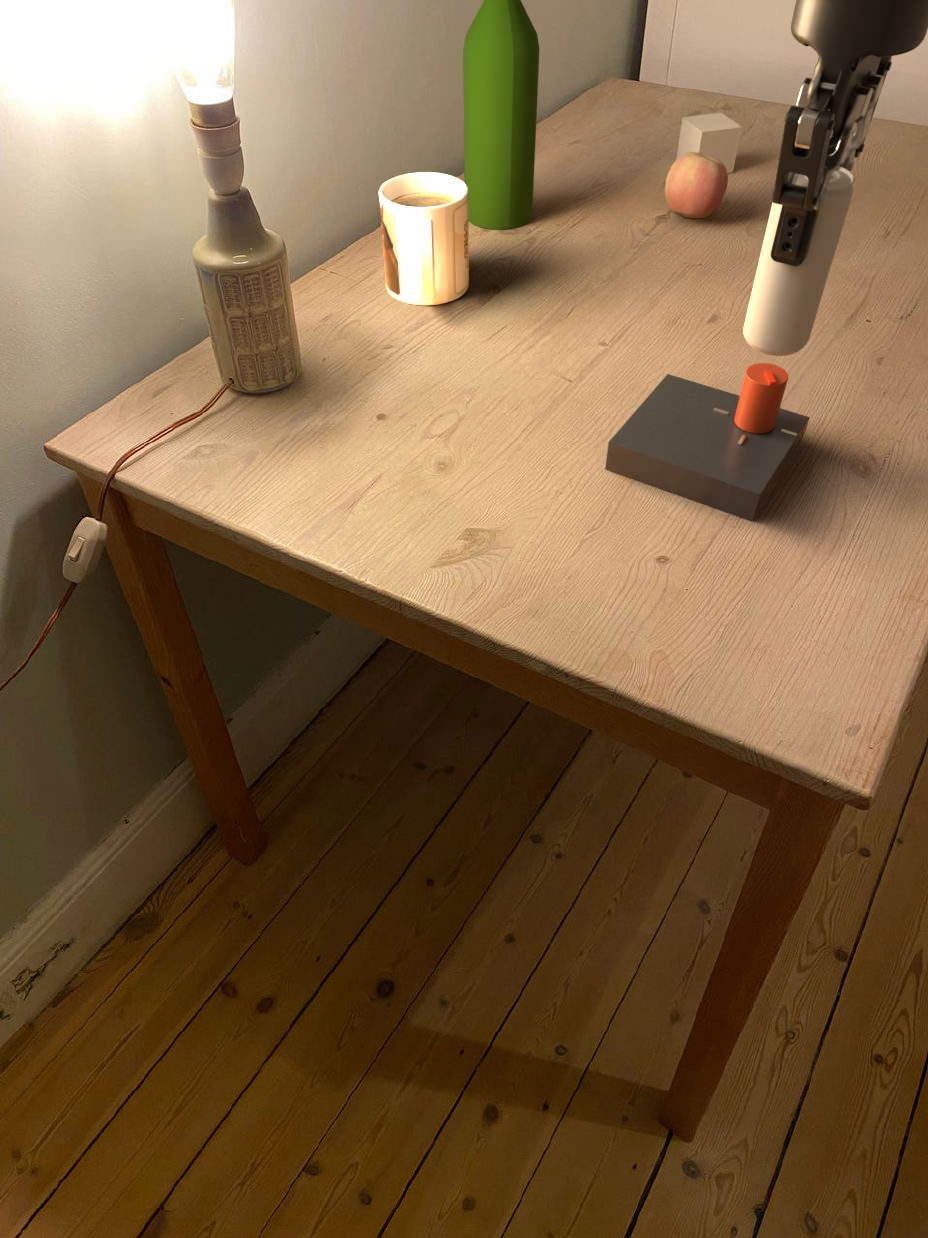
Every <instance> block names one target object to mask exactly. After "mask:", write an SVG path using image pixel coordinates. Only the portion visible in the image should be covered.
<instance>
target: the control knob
mask: <svg viewBox="0 0 928 1238" xmlns="http://www.w3.org/2000/svg"><path fill="white" fill-rule="evenodd" d="M788 380H789V373H788V372H787V370H785V369H784V368H783V367H781V366H780V365H779V366H778V365H776V364H774V363H767V362H758V363H754V364H751V365H749V366H748V367H747V368H746V370H745V374H744V377H743V382H742V385H741V390H740V394H739V396H740V397H739V402H738V406H737V410H736V414H735V418H734V421H735V424H736V425H737V426H738V427H739V428H740V429H742V430H744V431H746V432H749V433H755V434H762V433H767V432H769V431H771V430H772V429H773V428H774V426H775V423H776V420H777V416H778V413H779V409H780V408H781V406H782V402H783V398H784V395H785V392H786V387H787V384H788Z"/></svg>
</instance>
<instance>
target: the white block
mask: <svg viewBox="0 0 928 1238" xmlns="http://www.w3.org/2000/svg"><path fill="white" fill-rule="evenodd" d="M742 128H743V127H742V126H741V125H740V124H738V123H737V122H735V121H734V120H733V119H731V118H729V116H727V115H725V114H724V113H722V112H714V113H707V114H698V115H697V114H696V115H690V116H689V115H688V116H682V120H681V125H680V133H679V139H678V146H677V153H676V159H675V161H676V160H677V159H678V158H679V157H680V156H682V155H684V154H686V153H689V152H697V153H704V154H708V155H710V156H712V157H714V158H716V159H718V160H719V161H721V162H722V163H723V164H724V166H725V167H726V170H727V174H730V173H734V169H735V164H736V163H735V162H736V159H737V153H738V148H739V143H740V138H741V134H742Z"/></svg>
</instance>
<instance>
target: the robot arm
mask: <svg viewBox="0 0 928 1238" xmlns="http://www.w3.org/2000/svg"><path fill="white" fill-rule="evenodd" d="M790 32H791V34H792V37H793V38H794V39H795V40H796V41H797V42H798V43H799V44H800V45H802V46H805V47H810V48H811V49H812V50H813V51H815V52H816V54H817V56H818V57H817V63H816V64H815V66H814V70H813V73H812V77H808V76H807V77H805V78H804V80H803V81H802V85H801V88H800V91H799V93H798V97H797V100H796V106H795V105H791V106H790V107H789V109H788V111H787V112H786V114H785V117H784V127H783V132H782V139H781V144H780V145H781V146H780V152H779V157H778V161H777V162H778V163H777V169H776V175H775V181H774V187H773V191H772V195H771V196H772V200H771V203H775V204H780V205H782V209H781V213H780V217H779V221H778V225H777V229H776V233H775V237H774V242H773V246H772V250H771V258H772V259H773V260H774V261H775V262H779V263H783V264H787V265H791V266H799V265H801V264H802V262H803V261H804V260H805V259H806V256H807V253H808V249H809V245H810V242H811V238H812V234H813V231H814V227H815V223H816V220H817V216H818V213H819V209H820V206H822V205H823V203H824V199H825V197H824V195H825V192H826V190H827V187H828V184H829V181H830V178H831V175H832V173H833V172H835V171H838V170H840V169H841V168H842V167H843V168H845V169H847V170H849V171H850V172H852V171H853V169H854V166H855V161H854V160H855V158H857V159H858V158H859V157H860V155H861V153H863V151H864V148H865V141H866V138H867V135H868V133H869V129H870V126H871V123H872V120H873V117H874V114H875V111H876V108H877V105H878V102H879V99H880V96H881V94H882V90H883V88H884V84H885V81H886V78H887V76H888V72H890V70H891V67H892V64H893V63H892V58H893V57H894V56H900V55H904V54H907V53H909V52H911V51H913V50H916V49H917V48H918V47H919V46H920V45H921V44H922V43H923V41H925V38H926V36H927V32H928V0H795V5H794V9H793V13H792V19H791V23H790ZM799 174H800V175H805V176H807V178H808V186H807V187H804V186H799V185H796V182H797V178H798V175H799Z"/></svg>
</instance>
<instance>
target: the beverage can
mask: <svg viewBox="0 0 928 1238" xmlns="http://www.w3.org/2000/svg"><path fill="white" fill-rule="evenodd" d="M855 179H856V178H855V175H854V174H853V173H852V171H849V170H847V169H845V168H843V167H842V168H841V169H840V170H838V171H835V172H833V173H832V175H831V178H830V181H829V184H828V187H827V190H826V192H825V195H824V197H825V199H824V203H823V205H822V206H820V209H819V213H818V216H817V220H816V223H815V227H814V231H813V234H812V238H811V242H810V245H809V249H808V253H807V256H806V259H805V260H804V261H803V262H802V264H801V265H799V266H791V265H787V264H783V263H779V262H775V261H774V260H773V259H772V258H771V250H772V246H773V242H774V237H775V233H776V229H777V225H778V221H779V217H780V213H781V209H782V205H780V204H775V203H772V202H771V203H772V204H771V207H770V212H769V217H768V219H767V220H768V221H767V225H766V229H765V234H764V238H763V242H762V246H761V250H760V255H759V260H758V263H757V266H756V267H757V268H756V271H755V275H754V280H753V284H752V289H751V293H750V298H749V302H748V305H747V309H746V314H745V319H744V324H743V328H742V335H743V337H744V340H745V341H746V343H747V344H748V345H749V346H750V347H751V349H753V350H755V351H756V352H758V353H762V354H764V355H768V356H776V357H784V356H785V357H786V356H791V355H794V354H797V353H798V352H800V351H801V350H802V349H803V348H804V347H805V346H806V345H807V344H808V342H809V341H810V338H811V335H812V331H813V328H814V324H815V321H816V318H817V314H818V311H819V307H820V304H821V301H822V297H823V294H824V291H825V288H826V283H827V281H828V277H829V273H830V270H831V267H832V263H833V260H834V257H835V254H836V251H837V247H838V244H839V241H840V238H841V235H842V231H843V229H844V225H845V223H846V222H845V221H846V218H847V216H848V215H847V214H848V211H849V208H850V205H851V201H852V198H853V194H854V185H853V184H854V183H855ZM796 185H799V186H804V187H807V186H808V178H807V176H805V175H800V174H799V175H798V178H797V182H796Z"/></svg>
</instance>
